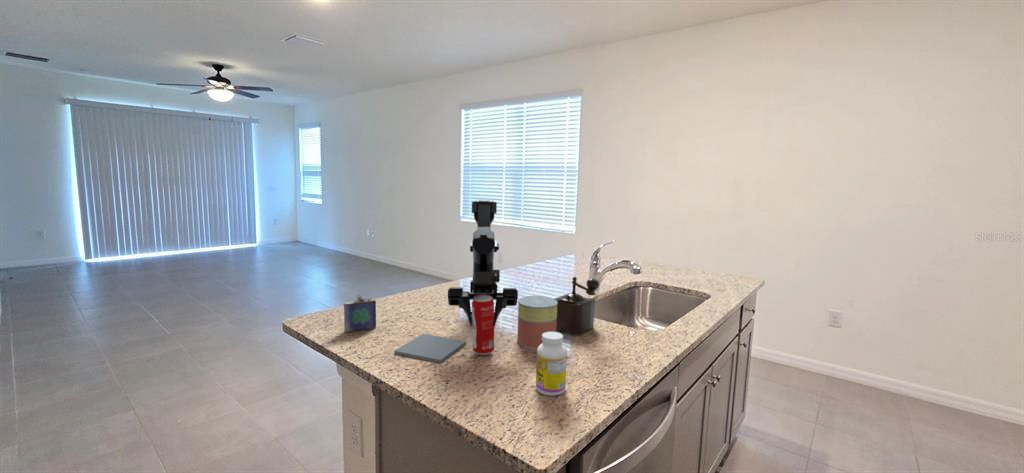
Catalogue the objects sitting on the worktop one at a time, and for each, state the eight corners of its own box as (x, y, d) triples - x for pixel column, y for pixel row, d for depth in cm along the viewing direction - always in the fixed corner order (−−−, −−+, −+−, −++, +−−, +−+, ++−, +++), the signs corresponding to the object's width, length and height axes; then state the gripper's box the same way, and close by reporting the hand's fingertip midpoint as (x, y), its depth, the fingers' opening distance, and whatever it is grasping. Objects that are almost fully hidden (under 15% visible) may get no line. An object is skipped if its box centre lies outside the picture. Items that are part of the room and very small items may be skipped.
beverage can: (495, 347, 122) (496, 293, 120) (492, 357, 116) (493, 301, 113) (474, 345, 122) (474, 292, 120) (469, 355, 116) (470, 299, 114)
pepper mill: (547, 329, 140) (550, 272, 137) (566, 320, 148) (568, 267, 146) (592, 341, 130) (595, 281, 128) (609, 331, 139) (612, 274, 136)
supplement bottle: (533, 383, 103) (535, 329, 102) (562, 382, 104) (564, 329, 102) (537, 397, 97) (539, 340, 95) (568, 396, 97) (570, 340, 96)
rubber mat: (423, 336, 131) (423, 333, 131) (466, 343, 126) (466, 341, 126) (394, 353, 118) (394, 350, 118) (440, 362, 113) (440, 359, 113)
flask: (345, 333, 131) (344, 298, 130) (343, 330, 134) (342, 295, 132) (377, 329, 136) (376, 294, 135) (374, 326, 138) (374, 292, 137)
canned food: (564, 341, 129) (565, 301, 128) (539, 352, 121) (540, 309, 119) (534, 331, 137) (535, 293, 135) (509, 341, 129) (510, 300, 127)
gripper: (448, 258, 118) (444, 311, 109) (518, 259, 120) (520, 311, 111) (450, 279, 127) (447, 330, 118) (515, 280, 129) (517, 330, 119)
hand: (482, 325), depth 116 cm, fingers closed on beverage can, 6 cm apart
